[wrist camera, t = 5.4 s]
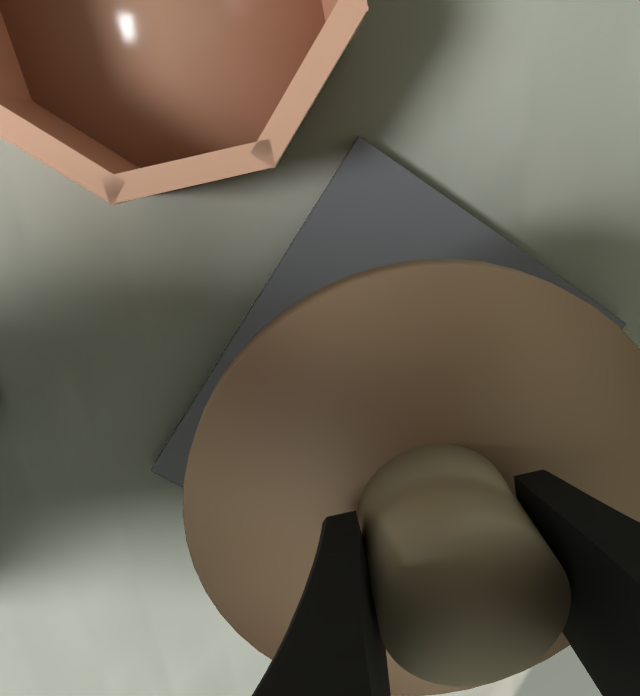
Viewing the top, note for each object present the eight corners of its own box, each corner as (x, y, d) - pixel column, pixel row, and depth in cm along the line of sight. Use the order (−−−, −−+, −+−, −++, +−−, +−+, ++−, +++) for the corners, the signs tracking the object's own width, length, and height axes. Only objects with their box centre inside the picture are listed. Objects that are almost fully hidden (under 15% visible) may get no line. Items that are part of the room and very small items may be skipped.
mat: (401, 589, 21) (403, 597, 21) (154, 465, 19) (151, 471, 18) (618, 320, 18) (626, 323, 18) (357, 136, 16) (359, 136, 16)
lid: (470, 720, 15) (523, 884, 12) (107, 564, 13) (44, 711, 10) (749, 414, 13) (920, 511, 9) (357, 151, 10) (393, 151, 7)
